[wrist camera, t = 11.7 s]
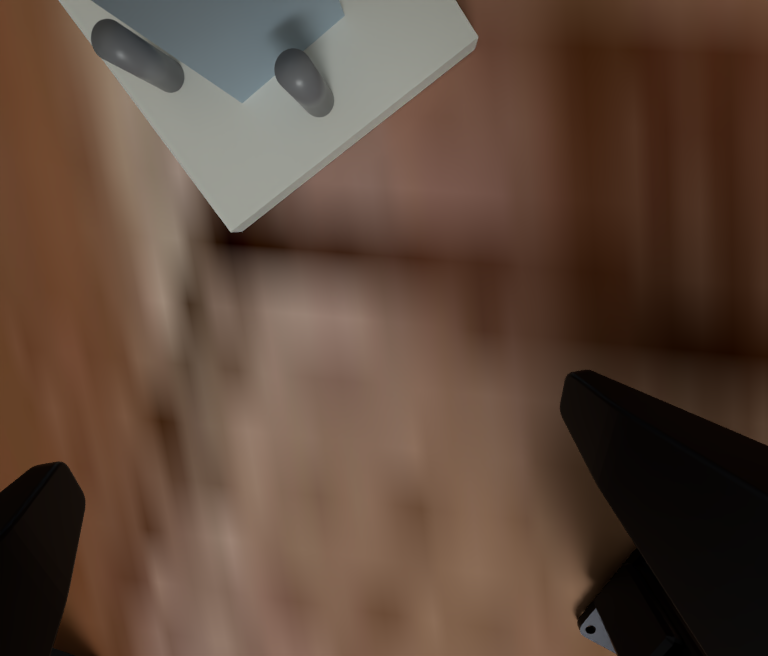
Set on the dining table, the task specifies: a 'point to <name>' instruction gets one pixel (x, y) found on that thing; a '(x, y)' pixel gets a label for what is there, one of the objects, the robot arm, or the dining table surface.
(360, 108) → the base plate
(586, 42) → the dining table surface
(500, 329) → the dining table surface
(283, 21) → the block
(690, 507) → the robot arm
